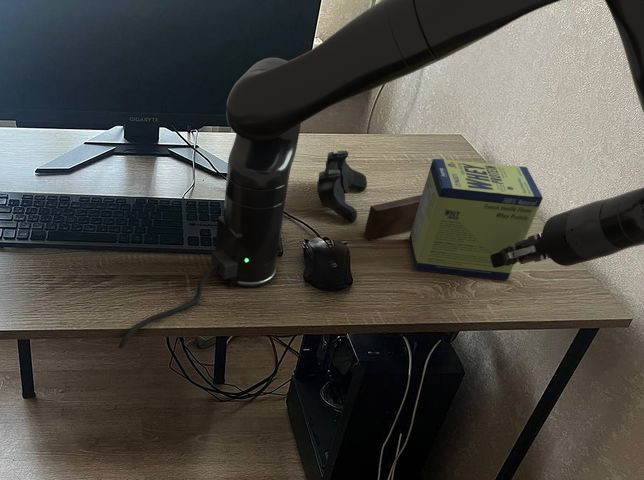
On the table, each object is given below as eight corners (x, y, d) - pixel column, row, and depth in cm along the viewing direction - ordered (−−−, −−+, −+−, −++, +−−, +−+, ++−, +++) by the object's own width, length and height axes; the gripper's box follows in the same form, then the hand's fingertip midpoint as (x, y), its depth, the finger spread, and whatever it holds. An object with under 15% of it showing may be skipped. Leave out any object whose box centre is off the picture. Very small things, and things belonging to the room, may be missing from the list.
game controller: (336, 193, 141) (321, 148, 137) (370, 184, 138) (355, 138, 133) (322, 232, 130) (304, 184, 125) (357, 224, 126) (341, 174, 121)
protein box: (509, 281, 115) (545, 196, 105) (414, 271, 116) (440, 187, 106) (496, 247, 123) (528, 166, 113) (407, 238, 124) (430, 157, 114)
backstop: (369, 240, 123) (376, 210, 119) (363, 235, 124) (370, 206, 120) (456, 219, 130) (466, 190, 126) (450, 215, 131) (459, 186, 127)
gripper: (615, 197, 97) (518, 230, 114) (546, 215, 93) (456, 246, 109) (630, 248, 97) (531, 274, 114) (562, 268, 93) (469, 292, 109)
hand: (494, 260), depth 111 cm, fingers closed
